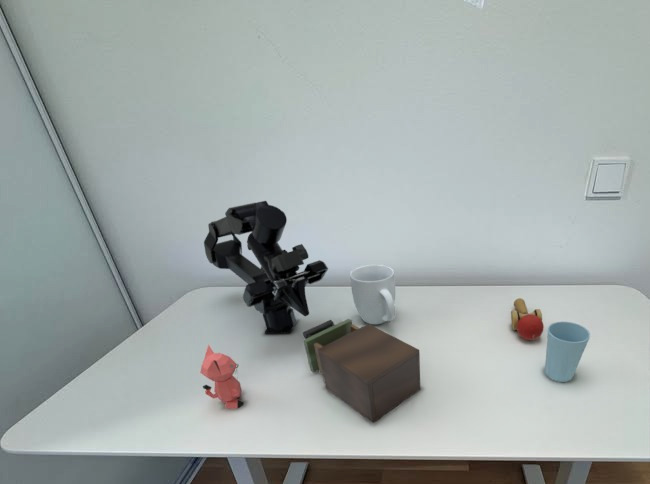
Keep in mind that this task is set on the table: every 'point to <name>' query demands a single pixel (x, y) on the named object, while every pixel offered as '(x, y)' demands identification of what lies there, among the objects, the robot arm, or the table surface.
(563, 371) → the cup
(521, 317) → the kendama
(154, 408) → the table surface
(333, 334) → the drawer
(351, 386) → the cabinet
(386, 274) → the mug
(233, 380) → the cat figurine
